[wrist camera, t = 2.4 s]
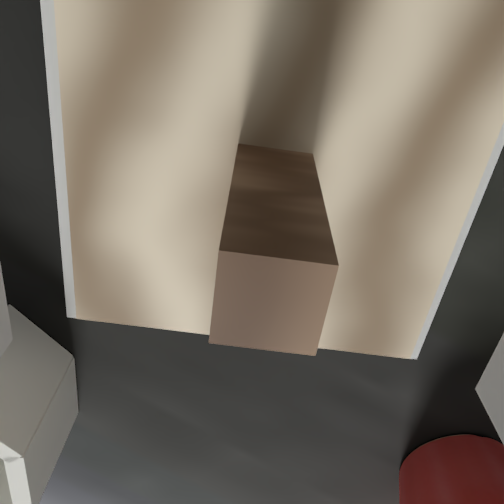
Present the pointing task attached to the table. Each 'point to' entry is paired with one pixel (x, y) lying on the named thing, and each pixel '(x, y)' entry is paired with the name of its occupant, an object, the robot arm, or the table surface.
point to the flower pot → (454, 472)
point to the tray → (62, 195)
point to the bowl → (33, 410)
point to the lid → (274, 162)
